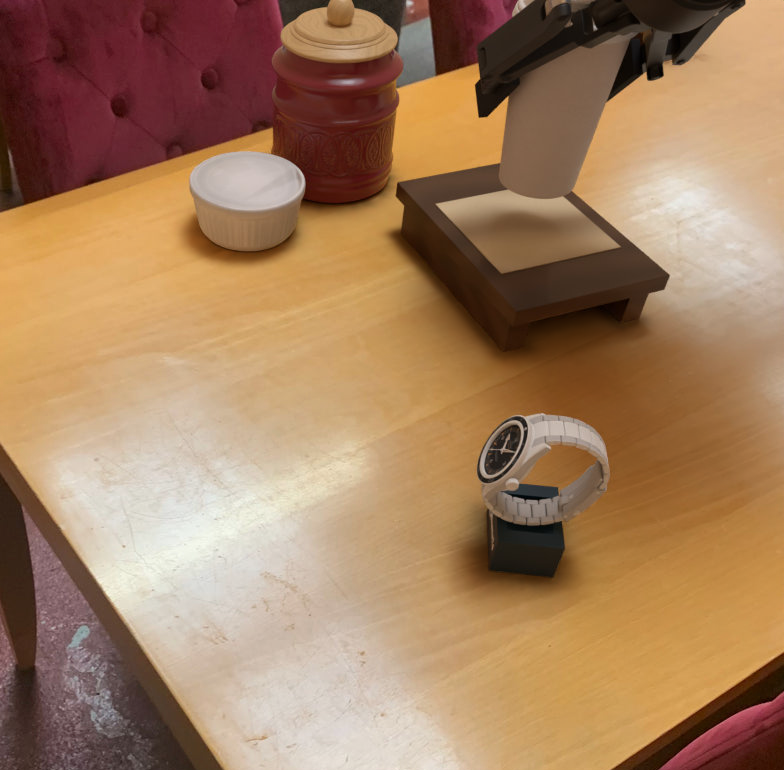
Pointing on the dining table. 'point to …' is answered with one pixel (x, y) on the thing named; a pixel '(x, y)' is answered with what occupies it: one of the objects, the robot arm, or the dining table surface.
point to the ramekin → (247, 199)
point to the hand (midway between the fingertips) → (538, 96)
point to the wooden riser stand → (522, 252)
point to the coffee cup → (557, 117)
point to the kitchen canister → (337, 101)
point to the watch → (534, 491)
